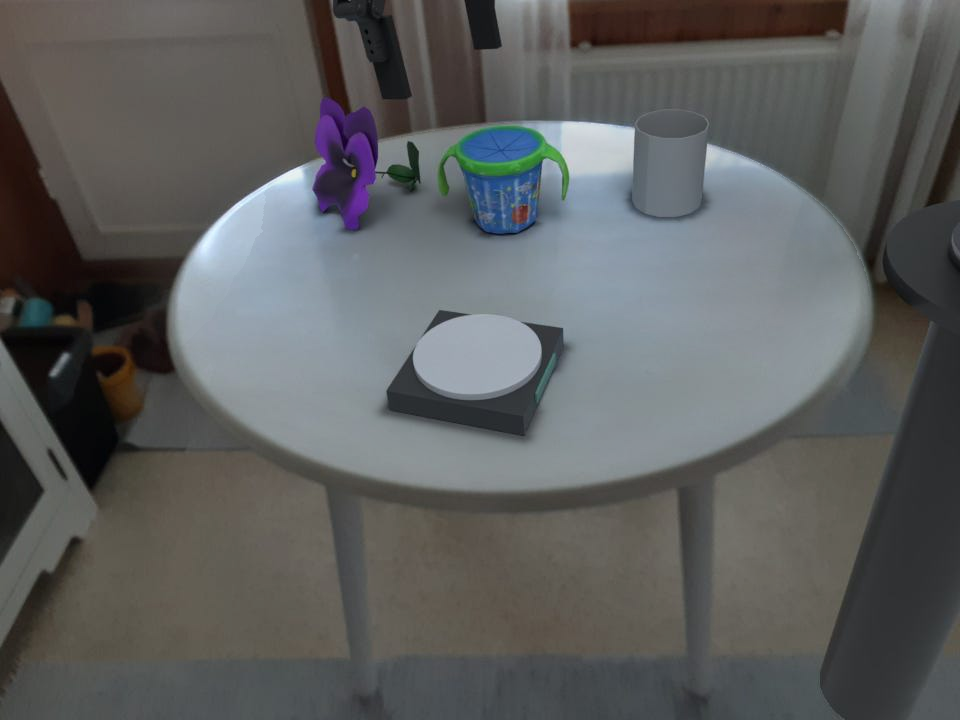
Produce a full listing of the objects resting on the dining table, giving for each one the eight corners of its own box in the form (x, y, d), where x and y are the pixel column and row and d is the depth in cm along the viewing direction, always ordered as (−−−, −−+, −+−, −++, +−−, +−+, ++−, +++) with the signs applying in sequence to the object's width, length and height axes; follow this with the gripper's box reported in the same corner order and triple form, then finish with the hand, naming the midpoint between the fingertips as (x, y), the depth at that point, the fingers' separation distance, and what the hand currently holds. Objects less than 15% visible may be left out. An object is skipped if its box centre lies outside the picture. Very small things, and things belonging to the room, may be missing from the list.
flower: (373, 209, 119) (289, 199, 110) (402, 103, 114) (316, 83, 105) (434, 247, 110) (347, 239, 100) (468, 134, 105) (380, 114, 95)
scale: (565, 347, 83) (565, 321, 81) (526, 436, 74) (524, 409, 72) (441, 328, 87) (438, 303, 85) (389, 410, 78) (384, 383, 76)
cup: (681, 179, 108) (687, 104, 102) (714, 208, 102) (722, 129, 96) (620, 193, 107) (623, 117, 100) (650, 223, 100) (655, 144, 94)
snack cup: (430, 236, 102) (420, 157, 96) (461, 195, 110) (453, 120, 103) (555, 250, 97) (553, 169, 91) (578, 207, 105) (578, 129, 99)
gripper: (442, -218, 74) (489, 32, 85) (227, -178, 58) (320, 121, 69) (512, -238, 70) (552, 28, 81) (300, -201, 54) (387, 122, 65)
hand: (445, 72), depth 75 cm, fingers open, 13 cm apart
